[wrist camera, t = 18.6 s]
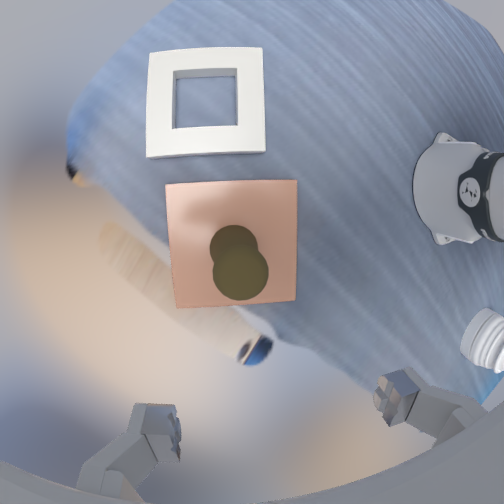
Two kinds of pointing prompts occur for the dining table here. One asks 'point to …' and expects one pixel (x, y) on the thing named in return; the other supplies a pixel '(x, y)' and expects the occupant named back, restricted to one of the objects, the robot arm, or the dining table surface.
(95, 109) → the dining table surface
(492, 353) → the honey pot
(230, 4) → the dining table surface
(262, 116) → the frame
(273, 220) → the terracotta tile
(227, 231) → the olive pawn
